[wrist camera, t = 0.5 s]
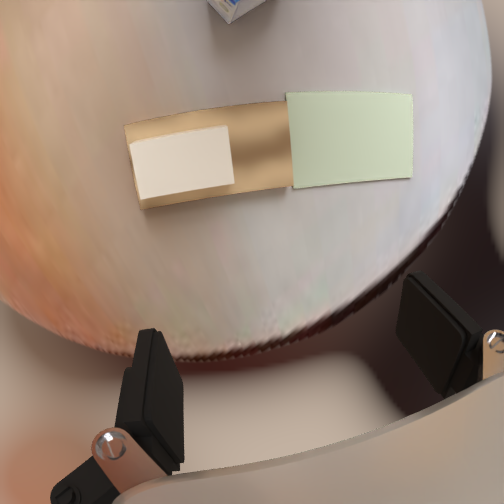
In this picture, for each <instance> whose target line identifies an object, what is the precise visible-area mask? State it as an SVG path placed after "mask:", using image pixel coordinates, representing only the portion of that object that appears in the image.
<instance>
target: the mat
mask: <svg viewBox="0 0 504 504" xmlns="http://www.w3.org/2000/svg"><path fill="white" fill-rule="evenodd" d="M285 96H286V101H287V106H288V117H289V128H290V140H291V153H292V167H293V181H294V186H293V189H297V188H305V187H314V186H322V185H331V184H341V183H351V182H361V181H372V180H383V179H395V178H409V177H412V170H413V102H412V95H411V94H399V93H384V92H361V91H312V92H288V93H285Z"/></svg>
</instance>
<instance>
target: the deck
mask: <svg viewBox="0 0 504 504" xmlns="http://www.w3.org/2000/svg"><path fill="white" fill-rule="evenodd" d="M220 125H226V126H228V134H229V142H230V150H231V158H232V166H233V174H234V182H235V184H228V185H221V186H215V187H209V188H203V189H197V190H191V191H185V192H179V193H174V194H168V195H163V196H157V197H152V198H147V199H142V200H140V195H139V191H138V186H137V181H136V177H135V172H134V167H133V162H132V156H131V151H130V146H129V144H131V143H132V142H134V141H137V140H142V139H146V138H151V137H156V136H161V135H166V134H171V133H177V132H182V131H188V130H194V129H200V128H206V127H213V126H220ZM124 130H125V136H126V141H127V147H128V152H129V157H130V163H131V168H132V172H133V177H134V182H135V187H136V191H137V196H138V200H139V205H140V209H141V210H143V209H148V208H154V207H159V206H164V205H170V204H175V203H181V202H187V201H193V200H199V199H205V198H211V197H217V196H224V195H230V194H237V193H244V192H251V191H258V190H265V189H272V188H280V187H288V186H294V181H293V167H292V153H291V140H290V128H289V117H288V106H287V101H275V102H263V103H253V104H243V105H234V106H226V107H219V108H211V109H205V110H198V111H192V112H186V113H180V114H175V115H170V116H164V117H159V118H155V119H150V120H145V121H141V122H136V123H132V124H128V125H124Z"/></svg>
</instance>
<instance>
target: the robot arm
mask: <svg viewBox="0 0 504 504" xmlns="http://www.w3.org/2000/svg"><path fill="white" fill-rule="evenodd" d="M482 330H483V329H482V328H481V327H480V326H479V325H478V324H477V323H476V322H475V321H474V320H473V319H472V318H471V317H470V316H469V315H468V314H467V313H466V312H465V311H464V310H463V309H462V308H461V307H460V306H459V305H458V304H457V303H456V302H455V301H454V300H453V299H451V297H449V295H448V294H446V293H445V292H444V291H443V290H442V289H441V288H440V287H439V286H438V285H437V284H436V283H434V281H433V280H431V279H430V278H429V277H428V276H427V275H426V274H425V273H424V272H422V271H417V272H413V273H409V274H408V275H407V277H406V278H405V279H404V282H403V289H402V296H401V302H400V309H399V314H398V321H397V326H396V335H397V337H398V339H399V340H400V342H401V343H402V344H403V346H404V347H405V348H406V350H407V351H408V352H409V354H410V355H411V357H412V358H413V359H414V361H415V362H416V364H417V365H418V367H419V368H420V369H421V371H422V372H423V374H424V375H425V377H426V378H427V379H428V381H429V382H430V384H431V385H432V387H433V388H434V390H435V391H436V392H437V393H438V394H441V395H442V397H443V398H444V399H445V398H447V397H449V396H451V395H453V394H455V392H456V394H455V395H453V396H451V397H449V398H447V399H445V400H443V401H441V402H439V403H437V404H435V405H433V406H431V407H429V408H426V409H424V410H422V411H420V412H418V413H415V414H413V415H410V416H408V417H406V418H404V419H401V420H398V421H396V422H394V423H391V424H388V425H386V426H384V427H381V428H378V429H375V430H373V431H370V432H367V433H364V434H361V435H358V436H355V437H353V438H349V439H347V440H343V441H340V442H337V443H333V444H330V445H327V446H324V447H320V448H316V449H312V450H309V451H305V452H301V453H297V454H293V455H288V456H285V457H280V458H276V459H270V460H265V461H260V462H255V463H249V464H244V465H238V466H233V467H225V468H219V469H211V470H203V471H197V472H190V473H183V474H176V475H172V471H180V463H184V425H183V424H184V422H183V421H184V420H183V419H184V418H183V382H182V379H181V377H180V374H179V372H178V370H177V367H176V365H175V363H174V361H173V358H172V356H171V353H170V351H169V349H168V346H167V344H166V341H165V339H164V337H163V334H162V332H161V331H158V332H157V331H156V329H155V328H151V329H145V330H140V331H139V333H138V338H137V343H136V348H135V353H134V358H133V364H132V367H128V368H126V369H125V372H124V376H123V381H122V387H121V392H120V397H119V403H118V409H117V415H116V422H115V428H113V427H112V428H107V429H105V430H103V431H101V432H100V433H99V434H97V435H96V437H95V438H94V440H93V442H92V446H91V451H92V454H93V456H92V457H90V458H89V459H88V460H87V461H85V462H84V463H83V464H82V465H80V466H79V467H78V468H77V469H75V470H74V471H73V472H71V473H70V474H69V475H67V476H66V477H65V478H64V479H62V480H61V481H60V482H59V483H57V484H56V485H55V486H54V487H53V489H52V492H51V496H50V500H51V504H504V332H503V331H500V330H491V331H488V332H487V333H486V334H485V335H483V334H482V333H481V332H482Z"/></svg>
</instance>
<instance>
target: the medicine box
mask: <svg viewBox="0 0 504 504" xmlns="http://www.w3.org/2000/svg"><path fill="white" fill-rule="evenodd" d="M206 1H207V2H208V3H209V4H210V5H211V6H212V7H213V8H214V9H215V10H216V11H217V12H218V13H219V14H220V16H221V17H222V18H223V19H224V20H225V21H226V22H227V23H228V24H230V23H232V22H233V21H235V20H236V19H238V18H239V17H241V16H242V15H244V14H245V13H247V12H249V11H250V10H252V9H253V8H255V7H257V6H258V5H260V4H261V3H263V2H265V1H266V0H206Z"/></svg>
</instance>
